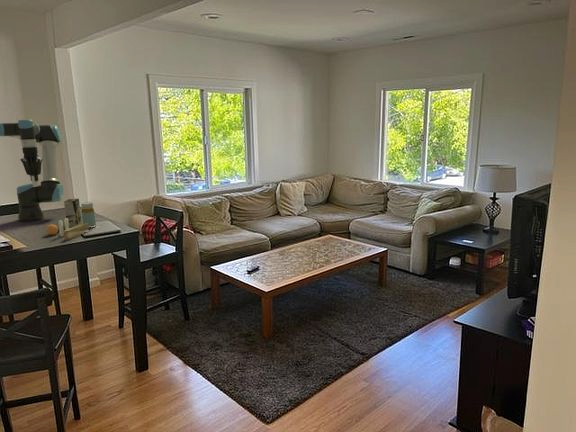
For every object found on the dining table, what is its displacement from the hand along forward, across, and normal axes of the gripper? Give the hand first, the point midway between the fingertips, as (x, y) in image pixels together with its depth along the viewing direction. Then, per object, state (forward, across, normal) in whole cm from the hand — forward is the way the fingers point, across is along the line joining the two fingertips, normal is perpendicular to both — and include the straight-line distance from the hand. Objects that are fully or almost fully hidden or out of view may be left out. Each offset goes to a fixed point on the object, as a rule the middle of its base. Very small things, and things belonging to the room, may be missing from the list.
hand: (35, 186), depth 259 cm
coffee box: (+26, +16, +9) cm, 32 cm away
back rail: (+25, +33, -14) cm, 44 cm away
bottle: (+26, +29, +4) cm, 39 cm away
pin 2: (+25, +25, -11) cm, 37 cm away
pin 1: (+25, +25, -16) cm, 39 cm away
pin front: (+24, +22, -13) cm, 35 cm away
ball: (+22, +17, -13) cm, 31 cm away
